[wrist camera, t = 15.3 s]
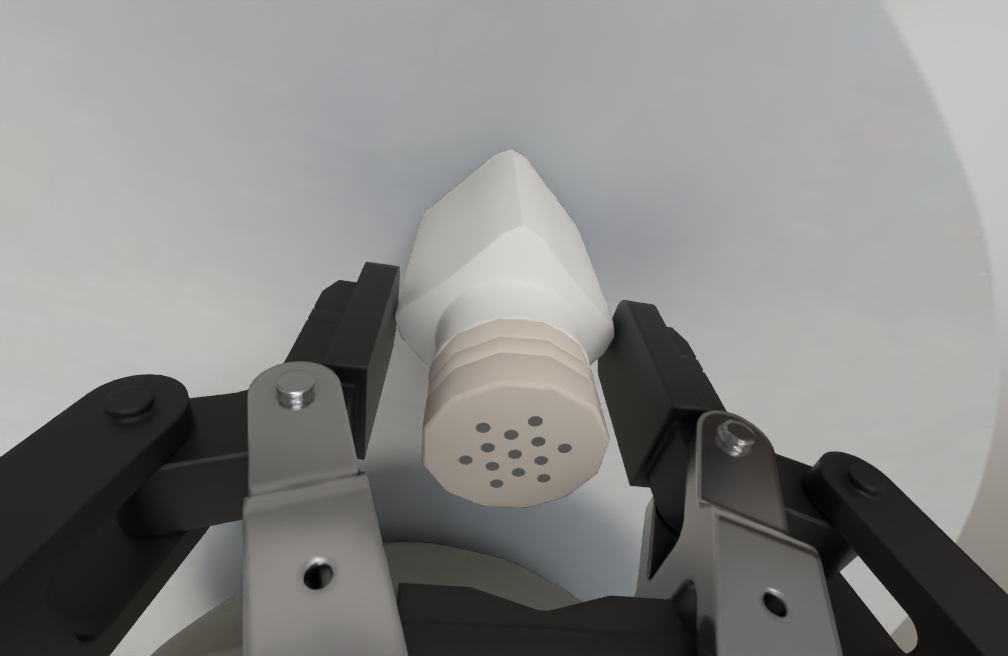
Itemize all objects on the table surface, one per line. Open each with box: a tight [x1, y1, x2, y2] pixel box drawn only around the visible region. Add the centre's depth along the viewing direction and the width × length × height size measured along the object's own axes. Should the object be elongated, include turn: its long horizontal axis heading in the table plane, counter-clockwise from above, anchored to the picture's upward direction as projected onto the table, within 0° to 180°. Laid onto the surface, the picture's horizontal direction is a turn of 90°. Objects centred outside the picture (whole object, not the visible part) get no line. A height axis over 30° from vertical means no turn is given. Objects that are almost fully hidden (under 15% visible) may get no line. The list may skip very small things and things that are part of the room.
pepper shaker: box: [395, 149, 614, 508], centre depth 12 cm, size 4×4×10 cm
